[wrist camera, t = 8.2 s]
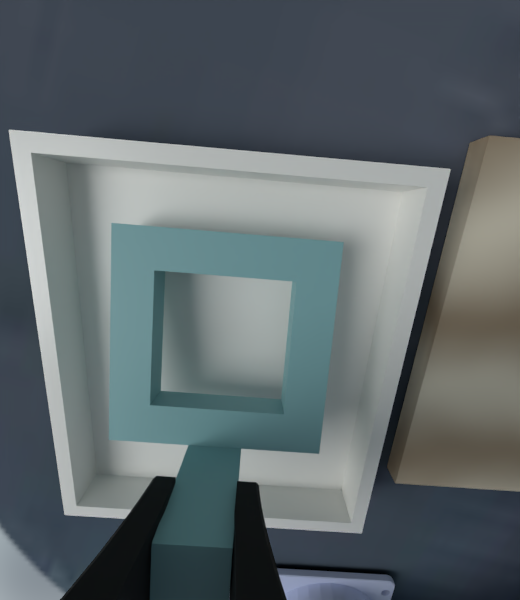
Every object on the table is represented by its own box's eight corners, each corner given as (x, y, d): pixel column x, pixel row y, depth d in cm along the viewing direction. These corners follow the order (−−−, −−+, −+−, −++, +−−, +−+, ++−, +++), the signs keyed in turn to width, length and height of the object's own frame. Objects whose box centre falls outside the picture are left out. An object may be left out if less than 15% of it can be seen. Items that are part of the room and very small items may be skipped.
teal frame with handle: (308, 477, 12) (342, 622, 7) (122, 466, 12) (30, 605, 7) (334, 244, 11) (397, 229, 6) (127, 227, 11) (18, 197, 6)
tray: (346, 485, 16) (361, 533, 14) (94, 469, 16) (64, 514, 13) (411, 179, 12) (450, 168, 9) (62, 148, 11) (8, 129, 9)
